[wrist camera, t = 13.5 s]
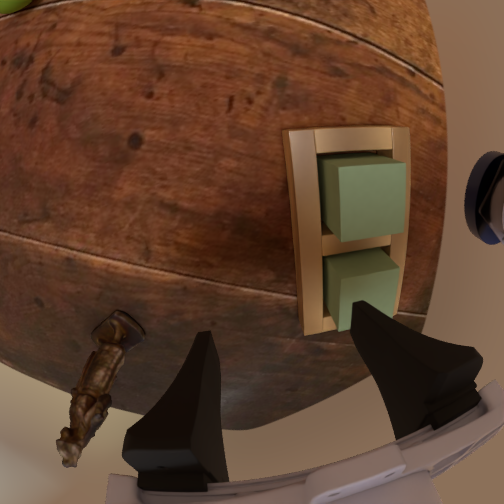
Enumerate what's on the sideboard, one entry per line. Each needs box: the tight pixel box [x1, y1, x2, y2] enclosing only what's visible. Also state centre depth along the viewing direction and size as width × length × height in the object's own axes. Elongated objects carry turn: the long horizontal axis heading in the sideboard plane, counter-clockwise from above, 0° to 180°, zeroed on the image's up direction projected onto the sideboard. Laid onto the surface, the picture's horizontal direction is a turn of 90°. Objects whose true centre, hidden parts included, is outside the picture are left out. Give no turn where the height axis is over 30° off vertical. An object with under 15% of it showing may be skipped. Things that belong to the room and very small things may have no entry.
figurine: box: [56, 311, 145, 468], centre depth 18 cm, size 7×4×15 cm, turn 127°
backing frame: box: [282, 125, 411, 335], centre depth 21 cm, size 9×16×2 cm, turn 8°
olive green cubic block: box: [322, 247, 400, 331], centre depth 21 cm, size 5×5×5 cm
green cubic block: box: [316, 152, 406, 242], centre depth 18 cm, size 5×5×5 cm
